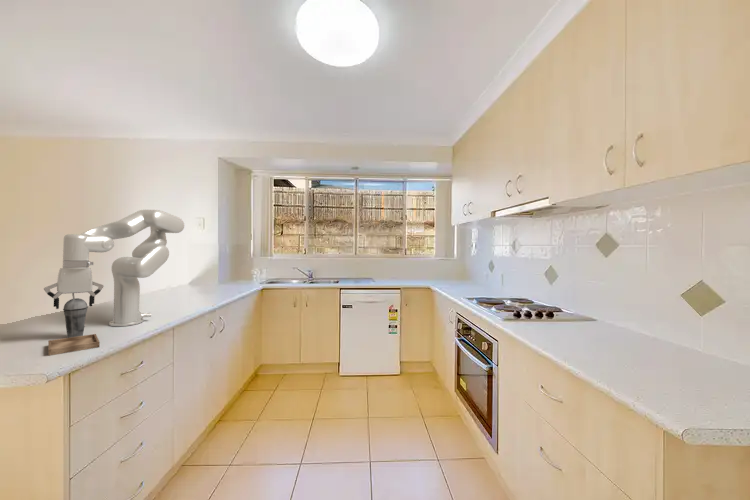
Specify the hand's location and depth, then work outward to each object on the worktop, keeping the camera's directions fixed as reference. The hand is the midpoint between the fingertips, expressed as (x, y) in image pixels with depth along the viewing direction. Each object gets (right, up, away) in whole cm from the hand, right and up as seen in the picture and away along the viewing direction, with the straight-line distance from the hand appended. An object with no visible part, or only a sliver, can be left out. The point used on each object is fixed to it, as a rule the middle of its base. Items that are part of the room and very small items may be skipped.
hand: (74, 307), depth 124 cm
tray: (+10, -13, -10) cm, 19 cm away
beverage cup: (0, -12, +1) cm, 12 cm away
